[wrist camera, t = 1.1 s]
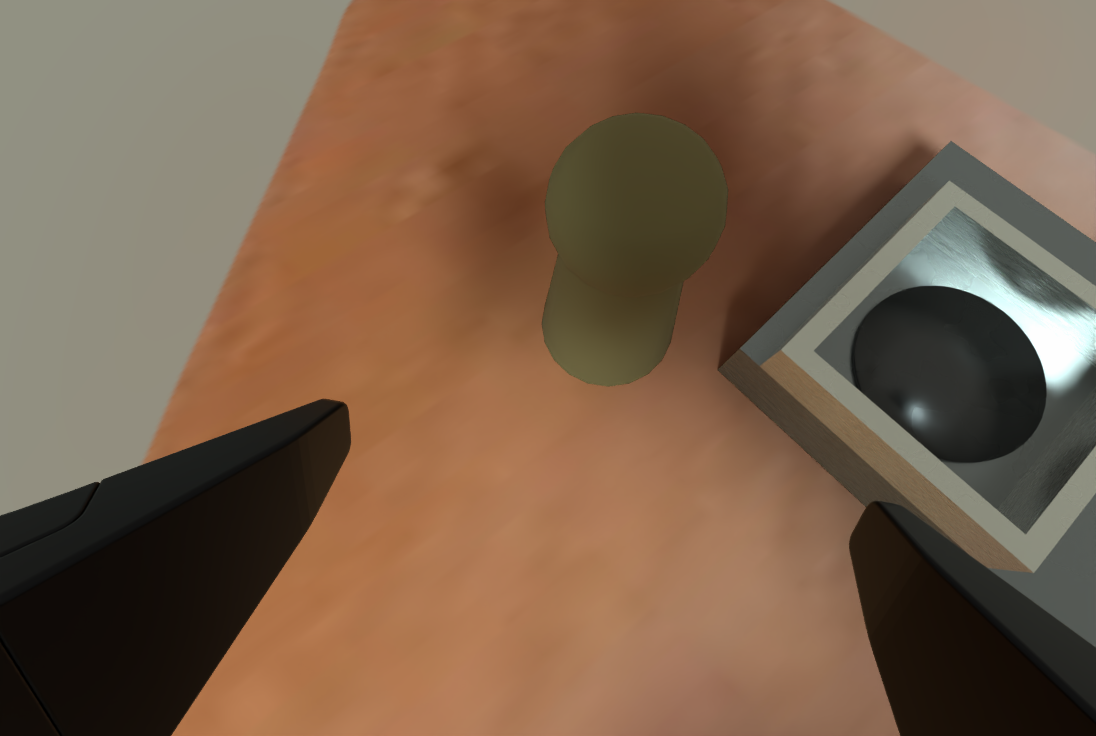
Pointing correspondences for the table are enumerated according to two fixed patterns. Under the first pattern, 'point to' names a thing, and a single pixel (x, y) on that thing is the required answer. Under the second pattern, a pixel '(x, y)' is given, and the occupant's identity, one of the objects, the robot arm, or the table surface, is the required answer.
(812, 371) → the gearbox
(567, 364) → the olive knobbed post
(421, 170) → the table surface
